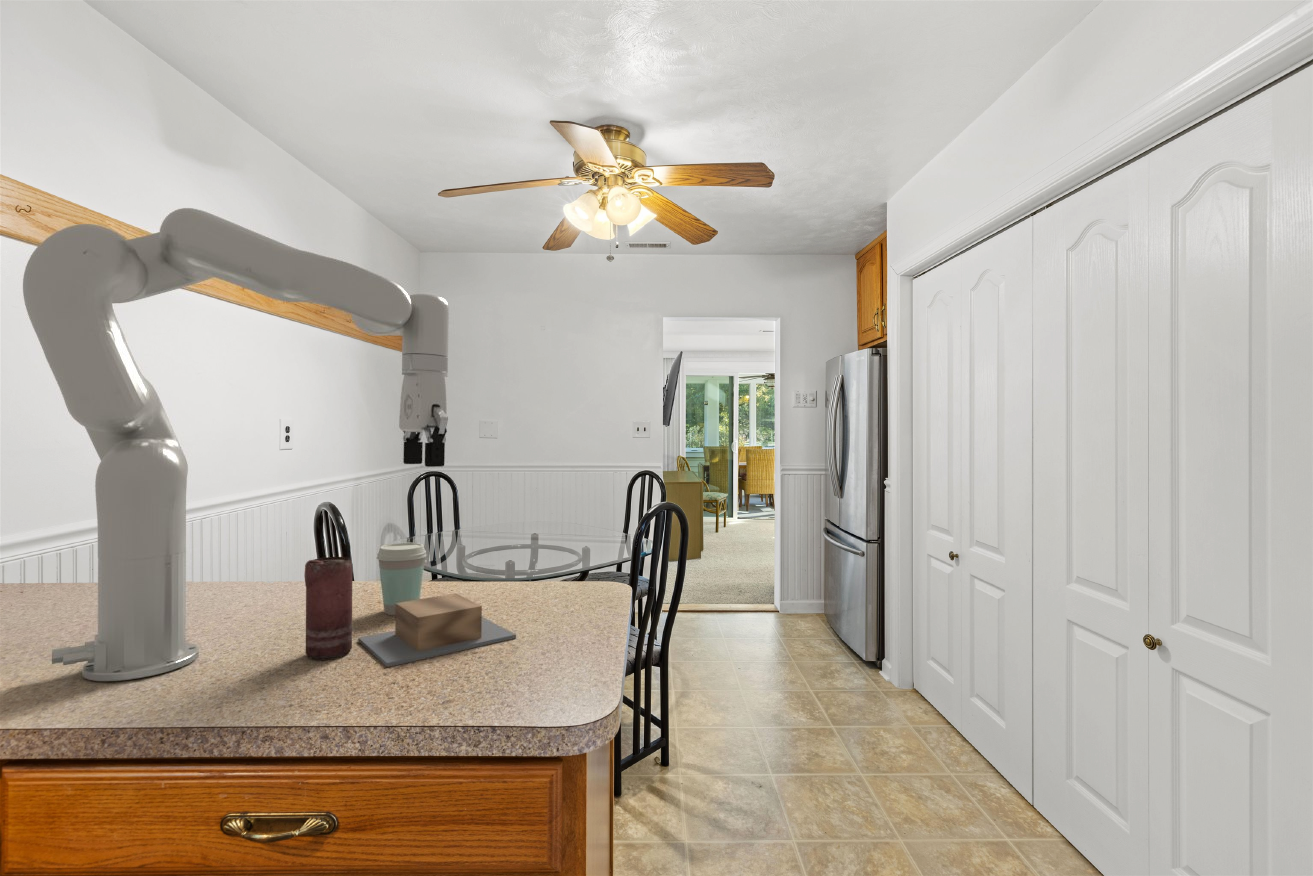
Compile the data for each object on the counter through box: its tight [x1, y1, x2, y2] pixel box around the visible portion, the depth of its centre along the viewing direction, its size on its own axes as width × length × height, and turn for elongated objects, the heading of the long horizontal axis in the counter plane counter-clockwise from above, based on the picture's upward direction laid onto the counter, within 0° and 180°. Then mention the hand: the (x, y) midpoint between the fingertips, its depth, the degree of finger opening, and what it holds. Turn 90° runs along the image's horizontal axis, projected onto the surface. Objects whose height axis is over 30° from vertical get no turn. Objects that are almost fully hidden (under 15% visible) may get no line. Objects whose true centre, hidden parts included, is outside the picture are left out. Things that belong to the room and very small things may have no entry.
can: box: [304, 556, 353, 661], centre depth 93 cm, size 6×6×14 cm
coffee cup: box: [376, 542, 427, 616], centre depth 115 cm, size 9×9×12 cm
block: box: [394, 593, 483, 651], centre depth 100 cm, size 10×10×5 cm
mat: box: [357, 616, 517, 668], centre depth 100 cm, size 20×14×1 cm
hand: (423, 465), depth 109 cm, fingers open, 9 cm apart
